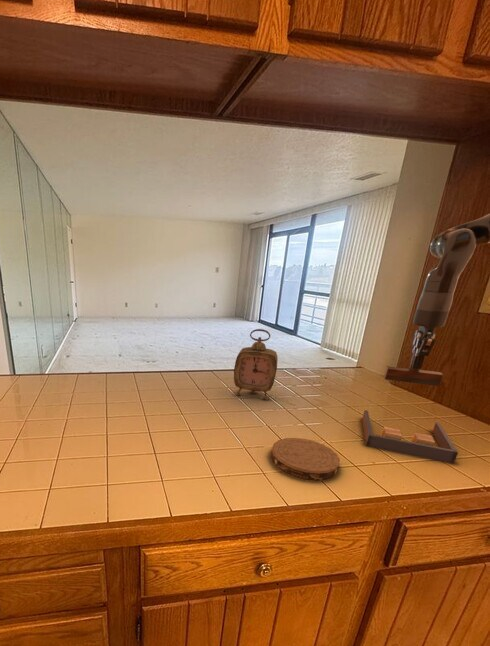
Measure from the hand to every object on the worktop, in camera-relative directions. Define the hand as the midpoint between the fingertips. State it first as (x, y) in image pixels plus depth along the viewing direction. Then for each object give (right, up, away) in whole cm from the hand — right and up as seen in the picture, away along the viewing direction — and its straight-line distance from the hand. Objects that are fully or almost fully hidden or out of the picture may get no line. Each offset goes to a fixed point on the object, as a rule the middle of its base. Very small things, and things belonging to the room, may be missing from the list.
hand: (415, 366), depth 104 cm
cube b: (-5, -24, -9) cm, 26 cm away
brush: (0, -4, +2) cm, 5 cm away
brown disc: (-40, -26, -16) cm, 51 cm away
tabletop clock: (-42, -8, +27) cm, 51 cm away
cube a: (-12, -22, -6) cm, 26 cm away
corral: (-6, -21, -3) cm, 22 cm away
